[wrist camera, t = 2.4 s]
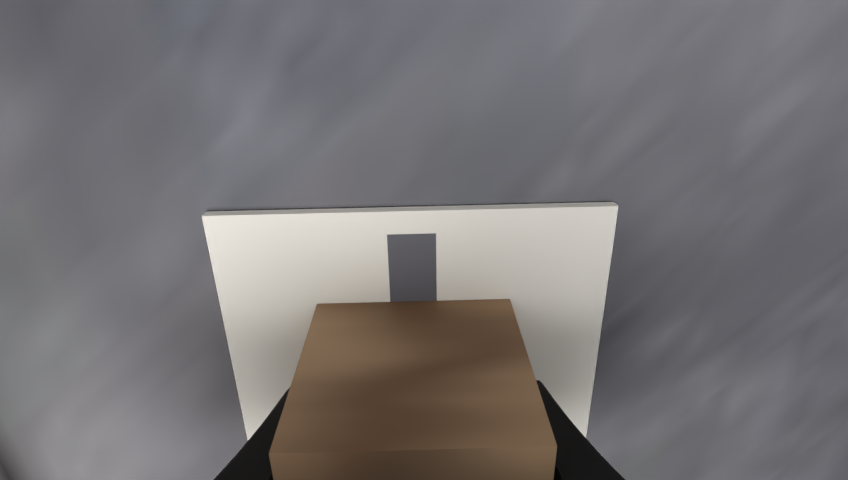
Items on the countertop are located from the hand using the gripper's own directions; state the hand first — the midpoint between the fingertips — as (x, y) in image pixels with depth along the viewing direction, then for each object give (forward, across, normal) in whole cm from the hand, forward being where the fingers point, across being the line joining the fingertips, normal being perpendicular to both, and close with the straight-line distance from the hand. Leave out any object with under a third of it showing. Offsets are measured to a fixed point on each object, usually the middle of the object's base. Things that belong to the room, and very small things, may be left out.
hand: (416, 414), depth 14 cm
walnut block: (+1, 0, 0) cm, 1 cm away
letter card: (+2, 0, 0) cm, 2 cm away
